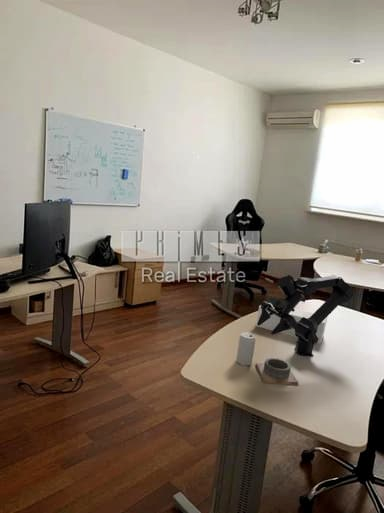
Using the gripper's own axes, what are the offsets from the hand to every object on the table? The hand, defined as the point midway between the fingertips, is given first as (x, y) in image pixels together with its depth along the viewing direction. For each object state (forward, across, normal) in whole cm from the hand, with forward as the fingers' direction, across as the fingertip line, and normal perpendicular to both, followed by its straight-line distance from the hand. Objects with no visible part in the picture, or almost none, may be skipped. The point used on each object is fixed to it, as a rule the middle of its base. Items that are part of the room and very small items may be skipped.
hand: (264, 329), depth 156 cm
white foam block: (-15, -21, +35) cm, 43 cm away
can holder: (+10, +12, +9) cm, 18 cm away
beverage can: (+15, 0, +4) cm, 16 cm away
